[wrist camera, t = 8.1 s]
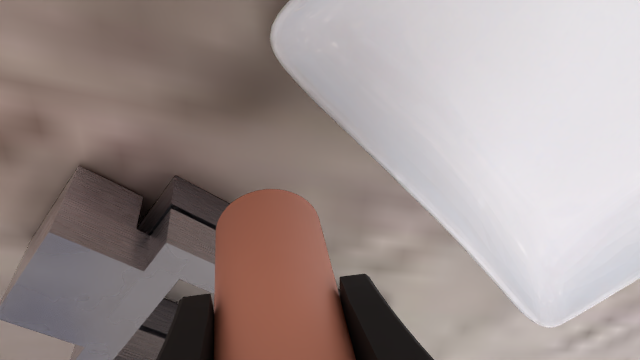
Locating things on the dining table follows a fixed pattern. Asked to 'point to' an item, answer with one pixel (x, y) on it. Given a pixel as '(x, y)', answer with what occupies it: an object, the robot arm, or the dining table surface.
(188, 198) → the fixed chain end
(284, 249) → the link pin
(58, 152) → the dining table surface
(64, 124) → the dining table surface
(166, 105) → the dining table surface
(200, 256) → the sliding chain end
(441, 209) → the salad plate
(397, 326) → the robot arm
